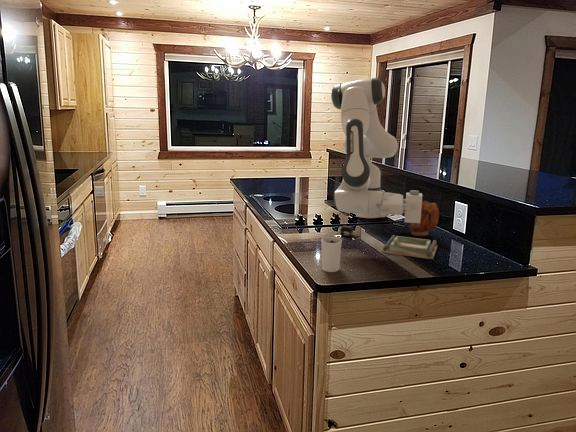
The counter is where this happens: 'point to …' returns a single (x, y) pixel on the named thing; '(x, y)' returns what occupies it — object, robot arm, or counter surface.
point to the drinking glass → (331, 253)
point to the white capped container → (415, 215)
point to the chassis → (411, 247)
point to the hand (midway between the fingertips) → (415, 205)
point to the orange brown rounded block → (425, 219)
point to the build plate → (346, 229)
